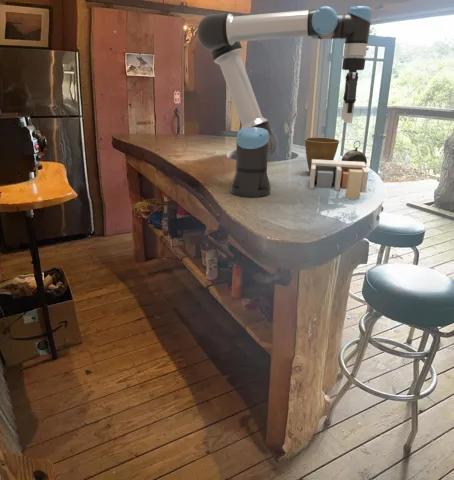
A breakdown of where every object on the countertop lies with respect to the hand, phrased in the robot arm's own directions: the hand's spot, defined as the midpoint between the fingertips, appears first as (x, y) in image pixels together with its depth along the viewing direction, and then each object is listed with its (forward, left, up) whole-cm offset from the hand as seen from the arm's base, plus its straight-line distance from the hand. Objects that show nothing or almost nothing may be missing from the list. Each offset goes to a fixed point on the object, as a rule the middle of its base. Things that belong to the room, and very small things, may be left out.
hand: (346, 121), depth 147 cm
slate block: (-5, +9, -27) cm, 29 cm away
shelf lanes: (0, +9, -27) cm, 28 cm away
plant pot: (-7, +29, -27) cm, 40 cm away
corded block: (+5, +1, -27) cm, 27 cm away
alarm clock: (+8, +28, -27) cm, 40 cm away
